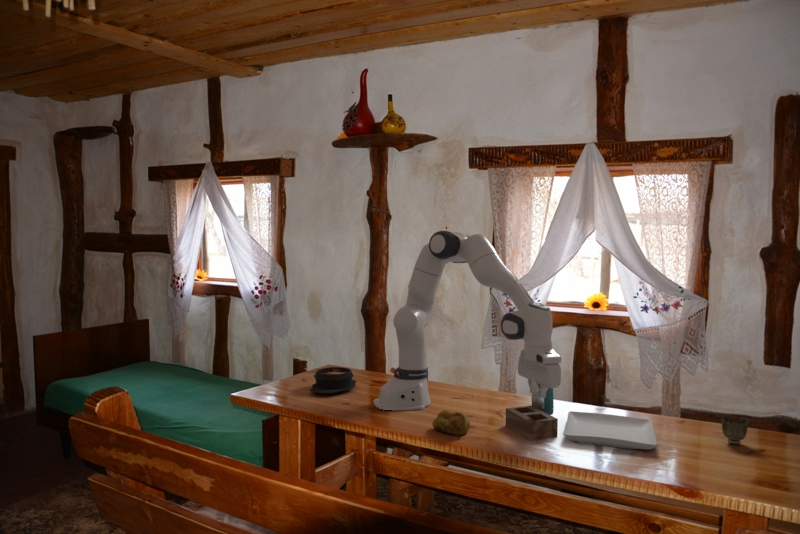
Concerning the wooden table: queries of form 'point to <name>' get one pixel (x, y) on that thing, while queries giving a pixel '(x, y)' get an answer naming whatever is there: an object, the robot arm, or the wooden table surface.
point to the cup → (734, 429)
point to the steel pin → (536, 396)
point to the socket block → (531, 423)
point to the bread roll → (451, 422)
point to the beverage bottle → (548, 402)
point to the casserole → (333, 380)
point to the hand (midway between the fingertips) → (537, 395)
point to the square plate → (610, 430)
